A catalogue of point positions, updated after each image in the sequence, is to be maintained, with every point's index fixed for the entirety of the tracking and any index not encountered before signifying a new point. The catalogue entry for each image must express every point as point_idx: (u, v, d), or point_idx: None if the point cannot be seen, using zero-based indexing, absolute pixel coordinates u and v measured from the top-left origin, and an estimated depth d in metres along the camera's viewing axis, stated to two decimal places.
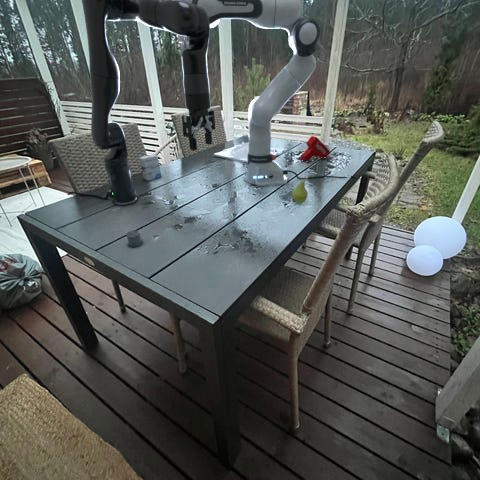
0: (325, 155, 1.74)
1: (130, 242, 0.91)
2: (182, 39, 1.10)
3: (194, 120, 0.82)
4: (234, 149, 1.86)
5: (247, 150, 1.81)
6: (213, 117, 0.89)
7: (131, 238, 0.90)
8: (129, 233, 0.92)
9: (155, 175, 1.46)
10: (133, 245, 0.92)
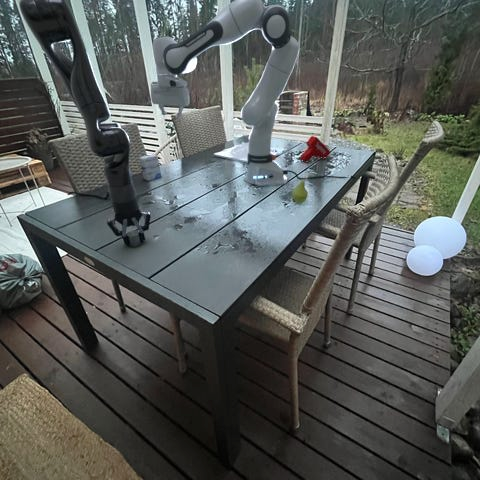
0: (325, 155, 1.74)
1: (130, 242, 0.91)
2: None
3: None
4: (234, 149, 1.86)
5: (247, 150, 1.81)
6: None
7: (131, 238, 0.90)
8: (129, 233, 0.92)
9: (155, 175, 1.46)
10: (133, 245, 0.92)
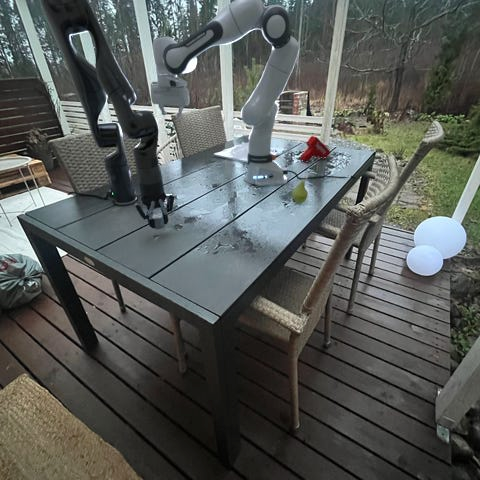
0: (325, 155, 1.74)
1: (156, 225, 0.94)
2: None
3: None
4: (234, 149, 1.86)
5: (247, 150, 1.81)
6: None
7: (157, 220, 0.93)
8: (153, 216, 0.94)
9: None
10: (159, 227, 0.95)
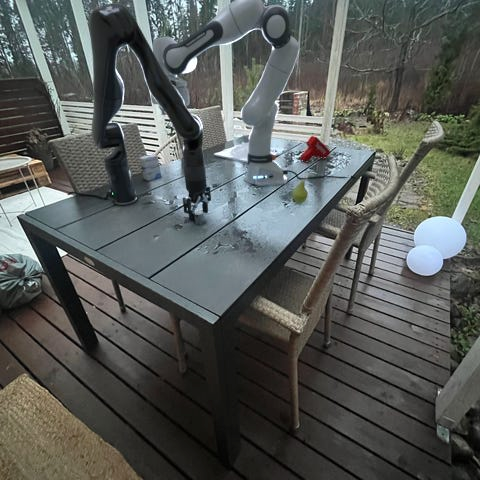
0: (325, 155, 1.74)
1: (200, 220, 1.04)
2: None
3: None
4: (234, 149, 1.86)
5: (247, 150, 1.81)
6: None
7: (201, 215, 1.03)
8: (196, 213, 1.04)
9: (155, 175, 1.46)
10: (202, 222, 1.05)
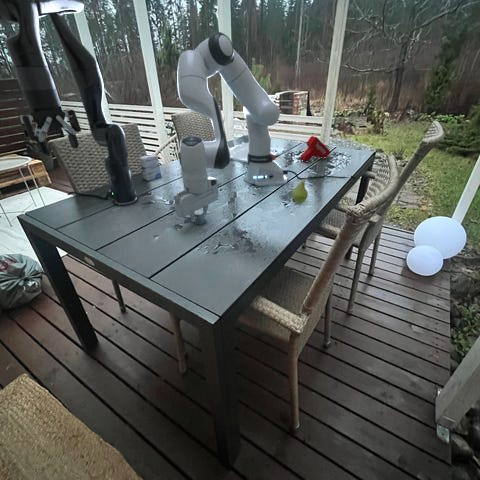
0: (325, 155, 1.74)
1: (200, 220, 1.04)
2: (184, 188, 0.97)
3: None
4: (234, 149, 1.86)
5: (247, 150, 1.81)
6: None
7: (201, 215, 1.03)
8: (196, 213, 1.04)
9: (155, 175, 1.46)
10: (202, 222, 1.05)
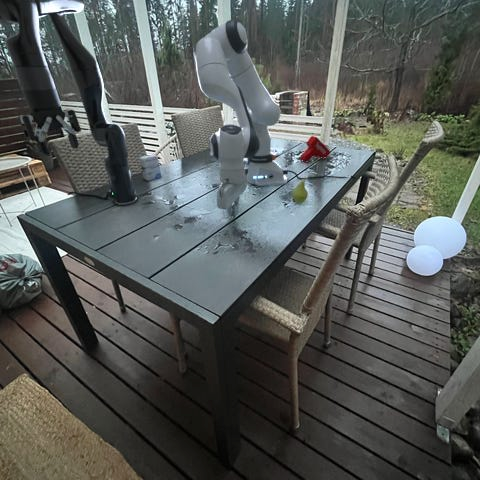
0: (325, 155, 1.74)
1: (235, 211, 1.02)
2: (222, 180, 0.94)
3: None
4: None
5: None
6: None
7: (237, 206, 1.02)
8: None
9: (155, 175, 1.46)
10: (237, 213, 1.03)
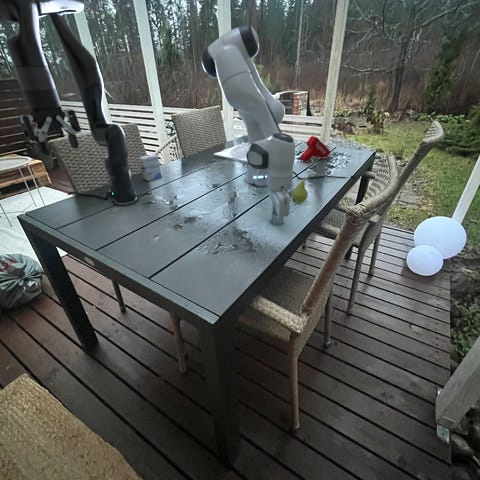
0: (325, 155, 1.74)
1: None
2: (276, 188, 0.94)
3: None
4: (234, 149, 1.86)
5: None
6: None
7: None
8: (277, 214, 1.03)
9: (155, 175, 1.46)
10: None
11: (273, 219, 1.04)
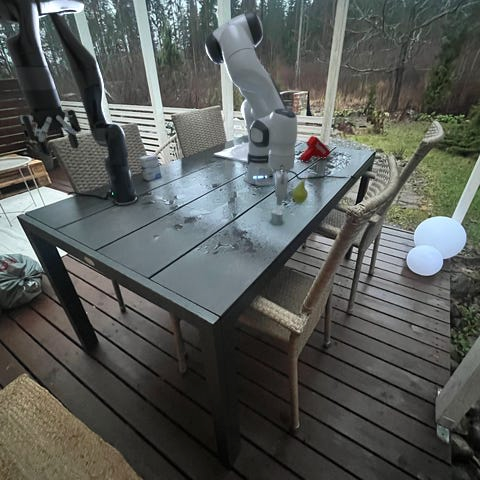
0: (325, 155, 1.74)
1: (281, 219, 1.04)
2: (275, 167, 0.90)
3: None
4: (234, 149, 1.86)
5: (247, 150, 1.81)
6: None
7: (282, 214, 1.04)
8: (277, 214, 1.03)
9: (155, 175, 1.46)
10: (281, 221, 1.05)
11: (273, 219, 1.04)
